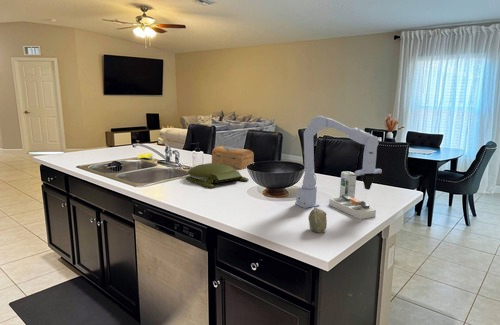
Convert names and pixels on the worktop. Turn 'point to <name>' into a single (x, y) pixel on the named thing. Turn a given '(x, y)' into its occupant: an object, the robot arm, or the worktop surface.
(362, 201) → the rocker
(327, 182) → the worktop surface
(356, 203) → the rocker
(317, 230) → the mottled olive rock
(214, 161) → the wooden box
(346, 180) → the syrup box
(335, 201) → the white tray
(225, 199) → the worktop surface
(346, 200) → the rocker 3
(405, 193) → the worktop surface
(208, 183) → the folded olive dish cloth
